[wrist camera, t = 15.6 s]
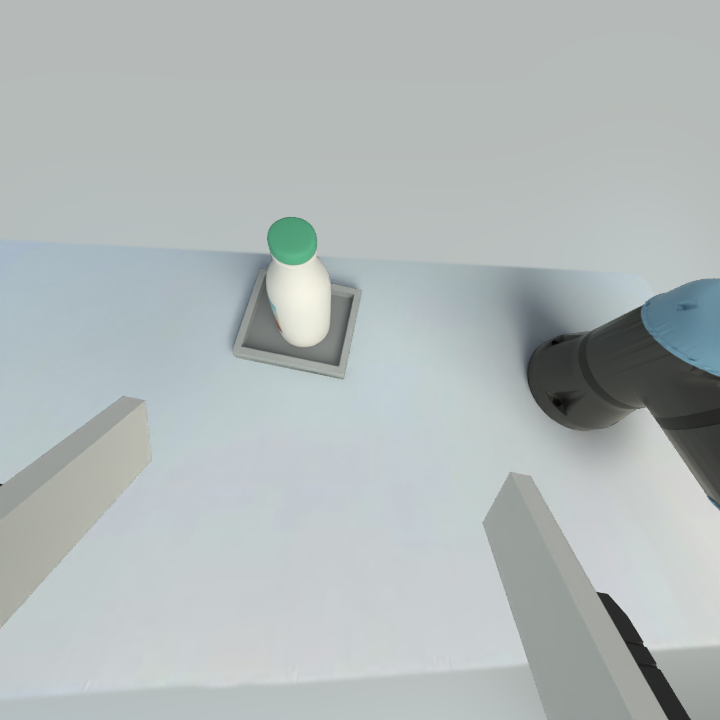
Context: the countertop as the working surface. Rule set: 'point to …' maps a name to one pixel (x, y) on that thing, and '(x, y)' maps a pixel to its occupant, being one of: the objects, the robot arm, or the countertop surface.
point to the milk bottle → (298, 283)
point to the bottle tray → (269, 346)
